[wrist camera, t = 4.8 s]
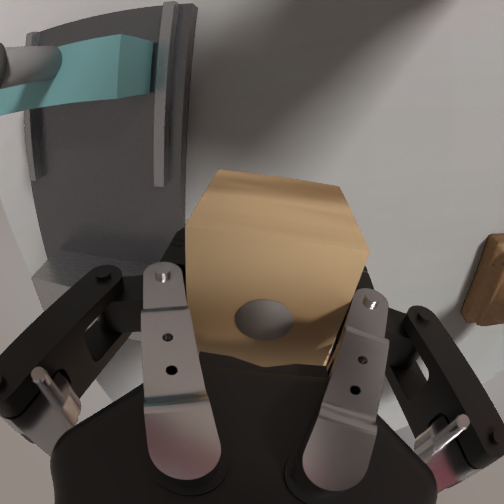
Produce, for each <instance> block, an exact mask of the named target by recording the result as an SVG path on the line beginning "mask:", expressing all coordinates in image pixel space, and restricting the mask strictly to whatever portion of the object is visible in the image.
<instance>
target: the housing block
mask: <svg viewBox="0 0 504 504" xmlns="http://www.w3.org/2000/svg"><path fill="white" fill-rule="evenodd" d="M369 252H370V251H369V249H368V246H367V244H366V242H365V240H364V237H363V235H362V233H361V231H360V229H359V226H358V224H357V222H356V220H355V218H354V216H353V214H352V212H351V210H350V207H349V205H348V203H347V201H346V199H345V197H344V195H343V193H342V191H341V189H340V187H339V186H333V185H327V184H322V183H316V182H310V181H303V180H297V179H291V178H284V177H277V176H270V175H262V174H255V173H247V172H238V171H230V170H220V169H219V170H218V171H217V173H216V174H215V176H214V178H213V179H212V181H211V183H210V184H209V186H208V188H207V189H206V191H205V193H204V194H203V196H202V198H201V200H200V201H199V203H198V205H197V206H196V208H195V210H194V212H193V213H192V215H191V217H190V219H189V220H188V222H187V224H186V226H185V260H186V296H187V306H189V308H190V314H191V319H192V325H193V330H194V336H195V341H196V346H197V351H198V356H199V353H200V351H202V352H208V353H214V354H220V355H227V356H232V357H235V358H238V359H241V360H244V361H246V362H249V363H252V364H255V365H258V366H262V367H272V366H281V365H289V364H307V365H320V366H323V364H324V362H325V360H326V358H327V356H328V353H329V351H330V349H331V347H332V345H333V342H334V340H335V338H336V336H337V333H338V331H339V329H340V326H341V324H342V322H343V319H344V317H345V315H346V312H347V310H348V307H349V305H350V303H351V300H352V298H353V295H354V292H355V290H356V287H357V285H358V282H359V280H360V277H361V274H362V272H363V269H364V266H365V263H366V261H367V258H368V255H369Z"/></svg>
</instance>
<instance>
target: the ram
mask: <svg viewBox="0 0 504 504" xmlns="http://www.w3.org/2000/svg"><path fill="white" fill-rule="evenodd" d="M152 52H153V41H149V40H145V39H141V38H137V37H133V36H128V35H123V34H118V35H111V36H105V37H100V38H94V39H89V40H84V41H80V42H75V43H71V44H67V45H63V46H59V47H56V46H24V47H8V48H5V47H4V46H3V44H2V43H0V116H1V115H5V114H10V113H14V112H19V111H24V110H29V109H35V108H41V107H47V106H53V105H60V104H67V103H76V102H85V101H95V100H107V99H119V98H124V97H130V96H135V95H142V94H148V93H150V79H151V64H152Z"/></svg>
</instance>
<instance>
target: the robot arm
mask: <svg viewBox="0 0 504 504" xmlns="http://www.w3.org/2000/svg"><path fill="white" fill-rule="evenodd" d="M96 318H97V320H96V321H95V322H94V323H93V324H92V326H91V327H90V328H89V329H88V330H87V331H86V329H87V328H88V326H89V325H90V324H91V323H92V322H93V321H94V320H95V319H96ZM85 331H86V332H85ZM132 332H141V345H142V368H143V383H142V384H141V385H139V386H138V387H136V388H135V389H133V390H132V391H130V392H129V393H127V394H125V395H124V396H122V397H121V398H119V399H118V400H116V401H114V402H113V403H111V404H110V405H108V406H106V407H105V408H103V409H102V410H100V411H98V412H97V413H95V414H93V415H92V416H90V417H89V418H87V419H85V420H84V421H82V422H80V423H79V424H77V425H75V424H76V423H77V421H78V416H79V414H80V412H81V402H80V400H79V399H80V397H81V396H82V395H83V394H84V392H85V391H86V390H87V388H88V387H89V386H90V385H91V383H92V382H93V381H94V380H95V378H96V377H97V376H98V375H99V373H100V372H101V371H102V370H103V368H104V367H105V366H106V365H107V363H108V362H109V361H110V360H111V358H112V357H113V356H114V355H115V353H116V352H117V351H118V350H119V349H120V347H121V346H122V345H123V344H124V342H125V341H126V340H127V339H128V338H129V336H130V335H131V334H132ZM419 355H420V356H421V358H422V360H423V361H424V363H425V365H426V367H427V368H428V371H429V379H428V381H427V380H426V378H425V377H424V375H423V373H422V371H421V369H420V368H419V366H418V364H417V362H416V359H417V358H418V357H419ZM385 375H386V377H387V379H388V381H389V383H390V385H391V388H392V390H393V392H394V394H395V396H396V398H397V400H398V402H399V404H400V406H401V408H402V411H403V413H404V415H405V417H406V419H407V421H408V424H409V426H410V428H411V430H412V432H413V435H414V437H415V439H416V440H415V444H414V451H413V450H412V449H411V448H410V447H409V446H408V445H407V444H406V443H405V442H404V441H403V440H402V439H401V438H400V437H399V436H398V435H397V434H396V433H395V432H394V431H393V430H392V429H391V428H390V426H389V425H388V424H387V423H386V422H385V421H384V420H383V419H382V418H381V417H380V416H379V415H378V414H377V412H378V407H379V402H380V397H381V392H382V387H383V381H384V376H385ZM0 417H1V418H3V420H5V421H6V422H7V423H8V424H9V425H10V426H11V427H12V428H13V429H14V430H15V431H17V432H18V433H20V434H21V435H22V436H23V437H24V438H25V439H27V440H28V441H29V442H31V443H34V444H36V445H37V446H38V447H40V448H41V449H42V450H43V451H44V452H46V453H47V454H48V455H49V456H51V460H50V463H51V464H50V468H51V475H52V480H53V485H54V492H55V493H54V494H55V504H436V500H437V493H439V492H441V491H442V490H444V489H446V488H450V487H452V486H454V485H456V484H458V483H460V482H461V481H463V480H465V479H467V478H469V477H470V476H472V475H474V474H476V473H477V472H479V471H480V470H482V469H484V468H485V467H487V466H489V465H490V464H492V463H493V462H495V461H496V460H498V459H499V458H500V457H502V456H503V455H504V423H503V421H502V420H501V418H500V416H499V414H498V412H497V410H496V408H495V407H494V405H493V403H492V401H491V400H490V398H489V397H488V394H487V393H486V391H485V389H484V388H483V386H482V384H481V383H480V381H479V379H478V378H477V376H476V375H475V373H474V371H473V370H472V368H471V367H470V365H469V364H468V362H467V360H466V359H465V357H464V356H463V354H462V353H461V351H460V350H459V348H458V347H457V345H456V344H455V342H454V341H453V339H452V338H451V337H450V335H449V334H448V332H447V331H446V329H445V328H444V327H443V325H442V324H441V322H440V321H439V320H438V318H437V317H436V315H435V314H434V313H433V312H432V311H430V310H429V309H427V308H425V307H423V306H412V307H410V308H409V310H408V312H407V313H406V314H405V313H402V312H399V311H396V310H394V309H391V308H389V307H388V301H387V299H386V298H385V297H384V296H383V295H382V294H381V293H379V292H378V291H375V290H374V288H373V285H372V282H371V279H370V276H369V274H368V273H367V268H366V267H365V266H364V269H363V272H362V274H361V277H360V280H359V282H358V285H357V287H356V290H355V292H354V295H353V298H352V300H351V303H350V305H349V307H348V310H347V312H346V315H345V317H344V319H343V322H342V324H341V326H340V329H339V331H338V333H337V336H336V338H335V341H334V343H333V345H332V348H331V351H330V354H329V357H328V360H327V363H326V365H325V366H320V365H307V364H289V365H281V366H272V367H262V366H258V365H255V364H252V363H249V362H246V361H244V360H241V359H238V358H235V357H232V356H227V355H220V354H214V353H208V352H202V351H200V353H199V356H198V351H197V346H196V341H195V336H194V330H193V325H192V319H191V314H190V308H189V306H187V296H186V260H185V227H184V228H182V229H181V230H179V231H178V232H176V234H175V236H174V237H173V240H172V241H171V243H170V245H169V246H168V248H167V250H166V251H165V253H164V255H163V257H162V258H161V260H160V262H157V263H154V264H152V265H150V266H148V267H147V268H146V269H145V271H144V274H143V275H139V276H126V277H122V272H121V270H120V269H119V268H118V267H116V266H114V265H101V266H97V267H95V268H93V269H92V270H90V271H89V272H88V273H87V274H86V275H85V276H83V277H82V278H81V279H80V280H79V281H78V282H76V283H75V284H74V285H73V286H72V287H71V288H70V289H68V290H67V291H66V292H65V293H64V294H63V295H62V296H61V297H59V298H58V299H57V300H56V301H55V302H54V303H53V304H52V305H51V306H50V307H49V308H47V309H46V310H45V311H44V312H43V313H42V314H41V315H40V316H39V317H38V318H37V319H36V320H35V321H34V322H33V323H32V324H31V325H30V326H29V327H28V328H27V329H25V331H23V333H21V334H20V335H19V336H18V337H17V338H16V340H14V341H13V342H12V344H10V345H9V347H8V348H7V349H6V350H5V351H4V352H3V353H2V354H1V355H0Z"/></svg>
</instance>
